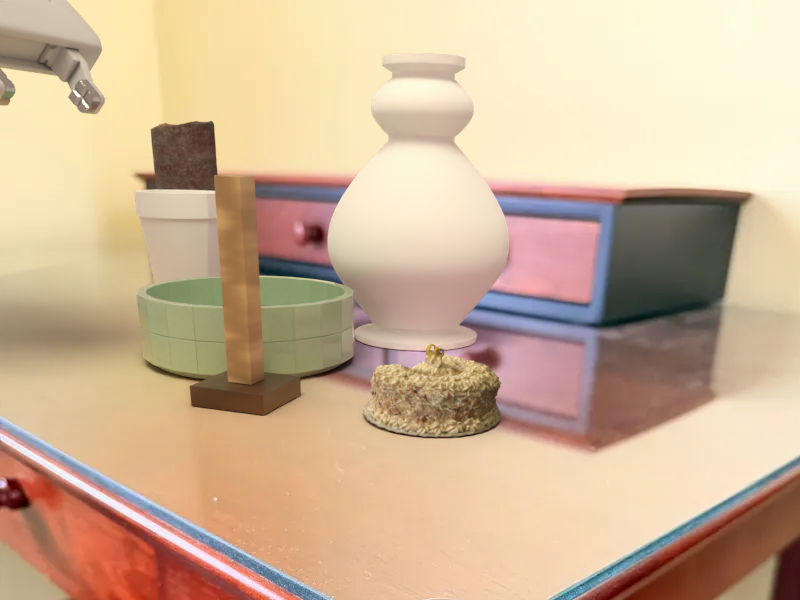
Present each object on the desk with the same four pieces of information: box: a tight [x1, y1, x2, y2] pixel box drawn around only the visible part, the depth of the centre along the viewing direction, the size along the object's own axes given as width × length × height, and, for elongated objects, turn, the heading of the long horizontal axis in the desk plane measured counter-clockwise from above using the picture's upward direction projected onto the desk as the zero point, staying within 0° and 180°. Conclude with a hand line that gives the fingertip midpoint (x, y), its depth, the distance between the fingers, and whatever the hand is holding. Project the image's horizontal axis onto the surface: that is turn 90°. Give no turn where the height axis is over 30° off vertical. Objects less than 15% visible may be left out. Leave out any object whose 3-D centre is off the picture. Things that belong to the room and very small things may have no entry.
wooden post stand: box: [189, 174, 302, 416], centre depth 58 cm, size 6×6×16 cm
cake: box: [362, 344, 502, 438], centre depth 58 cm, size 10×10×5 cm
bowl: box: [136, 275, 355, 380], centre depth 73 cm, size 19×19×6 cm
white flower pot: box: [133, 189, 221, 283], centre depth 89 cm, size 10×9×13 cm
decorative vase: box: [327, 52, 510, 352], centre depth 79 cm, size 18×18×25 cm
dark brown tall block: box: [150, 120, 219, 191], centre depth 97 cm, size 8×7×20 cm
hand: (52, 103), depth 60 cm, fingers open, 8 cm apart
